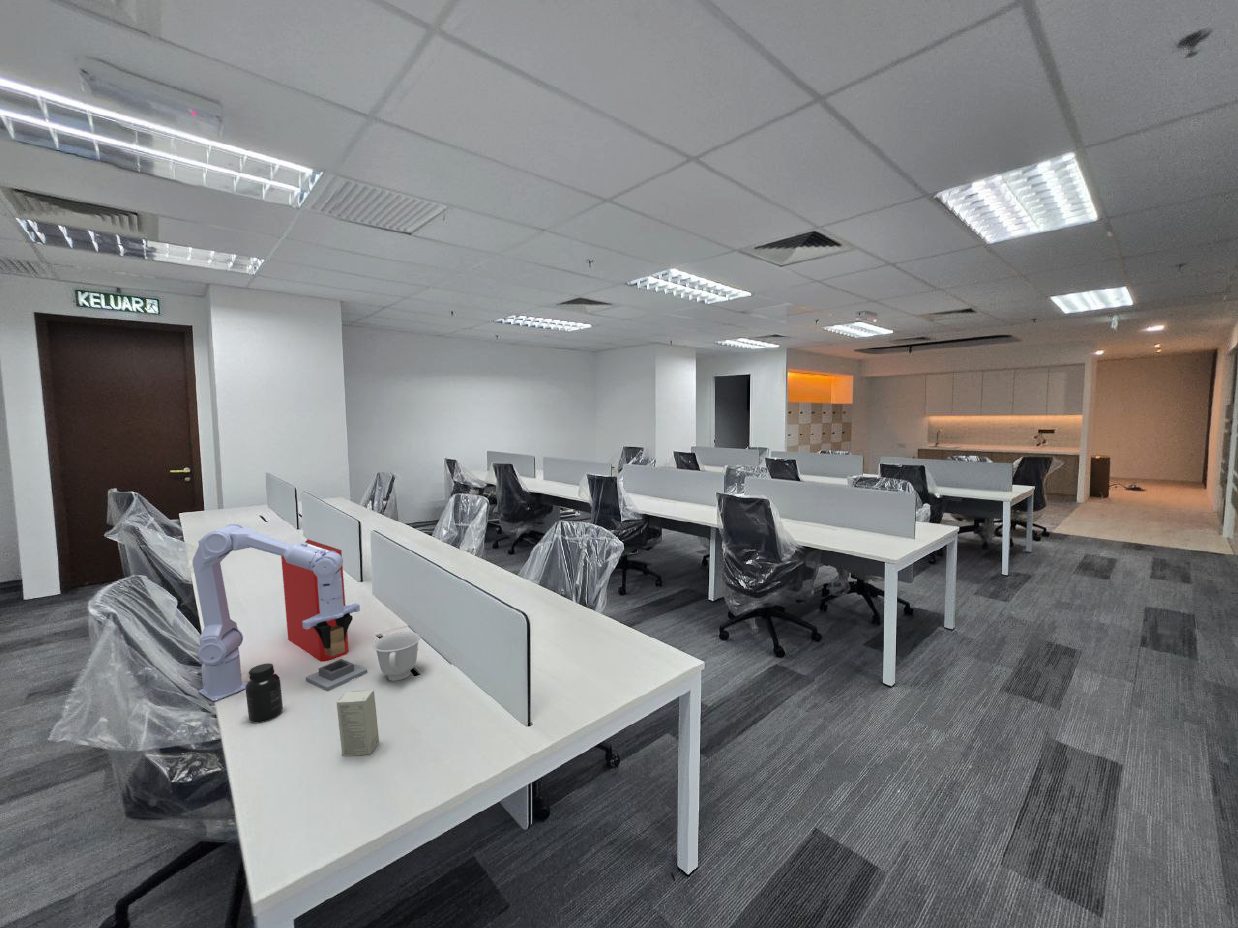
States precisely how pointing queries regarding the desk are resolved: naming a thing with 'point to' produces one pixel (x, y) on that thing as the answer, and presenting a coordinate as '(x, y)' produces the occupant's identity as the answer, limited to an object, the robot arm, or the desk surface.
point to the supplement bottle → (263, 693)
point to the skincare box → (357, 722)
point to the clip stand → (335, 674)
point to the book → (306, 605)
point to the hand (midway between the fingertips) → (334, 644)
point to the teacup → (397, 654)
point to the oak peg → (336, 641)
